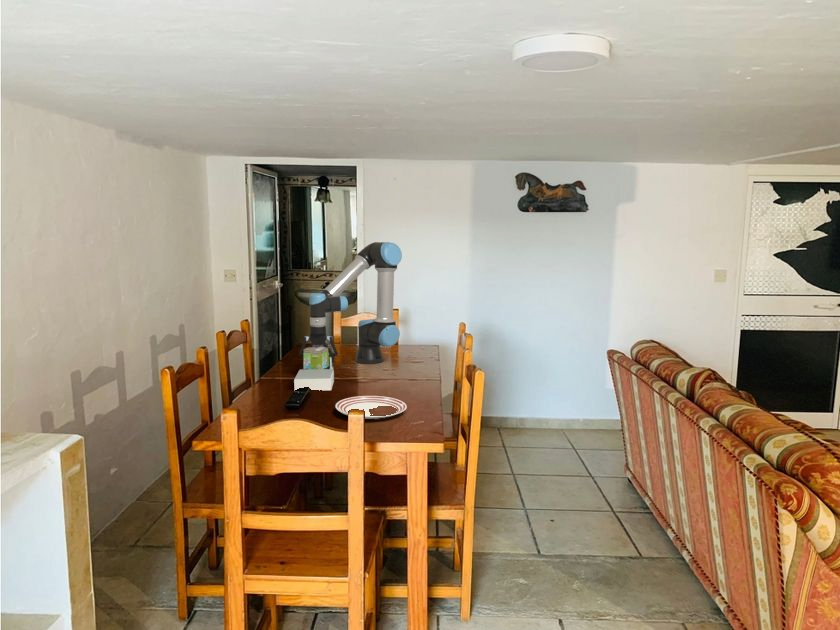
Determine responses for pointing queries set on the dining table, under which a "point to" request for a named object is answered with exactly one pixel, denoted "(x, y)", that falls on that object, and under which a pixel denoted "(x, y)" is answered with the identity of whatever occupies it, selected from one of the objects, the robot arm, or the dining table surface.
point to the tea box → (317, 357)
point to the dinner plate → (370, 405)
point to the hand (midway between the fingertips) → (318, 370)
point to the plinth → (314, 379)
